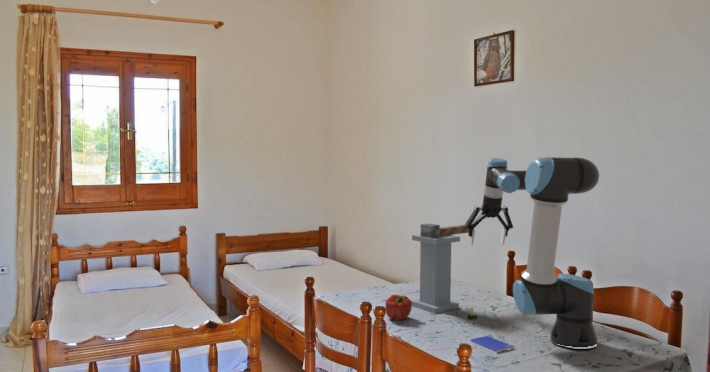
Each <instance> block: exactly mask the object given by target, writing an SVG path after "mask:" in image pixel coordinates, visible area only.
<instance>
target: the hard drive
mask: <svg viewBox="0 0 710 372" xmlns="http://www.w3.org/2000/svg"><path fill="white" fill-rule="evenodd" d="M470 343H471V344H474V345H476V346H478V347H480V346H481V348H483V349H485V348H486V349H485V350H487V349H488V351H490V350H491V351H490V352H492V351H493V352H492V353H494V352H500V351H503V350H508V349H512V348H514V349H515V346H514V345H511V344H508V343H506V342H504V341H501V340H499V339H496V338H493V337H492V336H488V335H484V336H480V337H474V338H471V339H470ZM512 350H513V349H512ZM508 351H509V350H508ZM500 353H501V352H500Z"/></svg>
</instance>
